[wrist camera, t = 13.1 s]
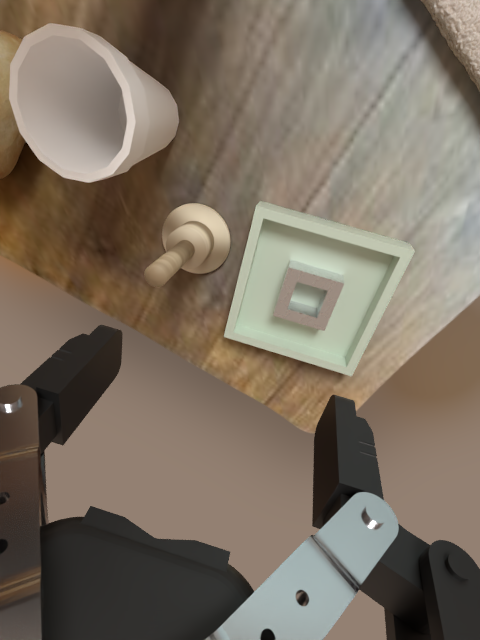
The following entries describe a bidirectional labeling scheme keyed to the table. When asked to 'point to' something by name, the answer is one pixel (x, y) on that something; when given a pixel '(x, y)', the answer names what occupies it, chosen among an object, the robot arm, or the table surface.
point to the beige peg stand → (190, 243)
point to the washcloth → (460, 30)
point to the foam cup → (87, 104)
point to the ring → (311, 277)
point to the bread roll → (8, 108)
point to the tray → (326, 253)
